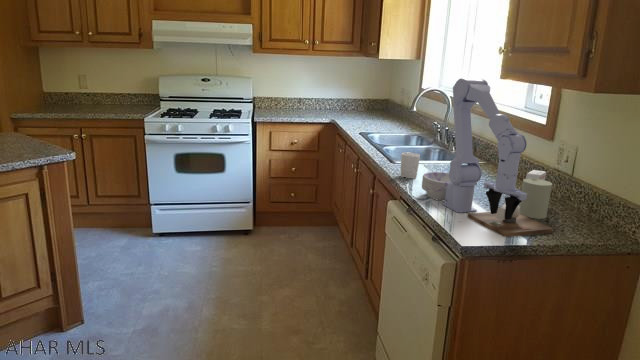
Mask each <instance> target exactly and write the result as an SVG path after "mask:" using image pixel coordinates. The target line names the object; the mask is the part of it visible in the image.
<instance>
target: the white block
mask: <svg viewBox="0 0 640 360" xmlns="http://www.w3.org/2000/svg"><path fill="white" fill-rule="evenodd" d="M519 210H520V206H519V205H518V206H517V208H516V209H515V211H514V213H513V215H512V218H516V217H518V216H519ZM505 211H506V203H503V204H502V206H498V212H497V219H500V220H505Z"/></svg>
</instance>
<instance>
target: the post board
mask: <svg viewBox="0 0 640 360" xmlns="http://www.w3.org/2000/svg"><path fill="white" fill-rule="evenodd" d="M497 212H498V211H497ZM467 218H469V219H471V220H472V221H474V222H476V223H478V224H480V225H482V226H483V227H484V228H485V227H486V228H488V229H489V230H492V231H493V232H495V233H497V234H498V235H500V236H502V237H504V238H510V237H519V236H529V235H539V234H542V235H543V234H550V233H554V228H552V227H550V226H548V225H546V224H543V223H541V222H540V221H537V220H535V219H534V218H529V217H526V216H524V215H522V214H519V216H518V217H516V218H511V219H508V220H506V219H505V220H500V219H497V213H496V214H491V211H483V212H467Z"/></svg>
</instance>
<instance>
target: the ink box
mask: <svg viewBox="0 0 640 360" xmlns="http://www.w3.org/2000/svg"><path fill="white" fill-rule="evenodd" d="M546 176H547V171H545V170H544V171H543V170H537V169H533V170H531V171H528V172H527V173H526V175H525V179H528V178H531V179H540V180H545V181H546Z"/></svg>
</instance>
